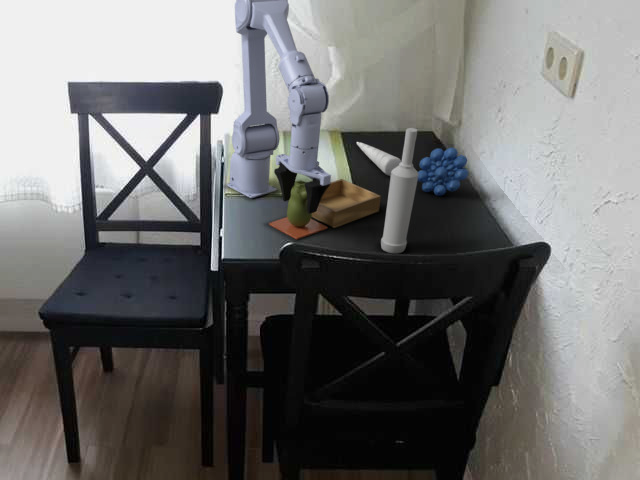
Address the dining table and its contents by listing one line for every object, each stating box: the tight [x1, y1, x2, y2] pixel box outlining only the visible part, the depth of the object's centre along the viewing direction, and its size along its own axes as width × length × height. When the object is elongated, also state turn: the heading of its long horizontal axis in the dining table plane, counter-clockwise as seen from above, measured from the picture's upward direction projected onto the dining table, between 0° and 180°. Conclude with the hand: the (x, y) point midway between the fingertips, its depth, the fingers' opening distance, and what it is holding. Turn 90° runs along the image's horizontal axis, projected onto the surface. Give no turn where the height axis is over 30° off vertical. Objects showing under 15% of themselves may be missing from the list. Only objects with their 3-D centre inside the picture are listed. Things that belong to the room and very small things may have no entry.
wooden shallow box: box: [311, 178, 382, 229], centre depth 169 cm, size 12×14×4 cm
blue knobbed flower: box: [417, 147, 469, 197], centre depth 175 cm, size 12×7×12 cm, turn 59°
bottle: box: [380, 127, 419, 254], centre depth 148 cm, size 5×5×25 cm
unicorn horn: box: [356, 141, 402, 177], centre depth 195 cm, size 5×24×5 cm, turn 9°
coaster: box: [268, 216, 328, 241], centre depth 163 cm, size 9×9×1 cm
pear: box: [286, 180, 313, 227], centre depth 160 cm, size 6×5×10 cm
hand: (299, 205), depth 160 cm, fingers open, 7 cm apart
